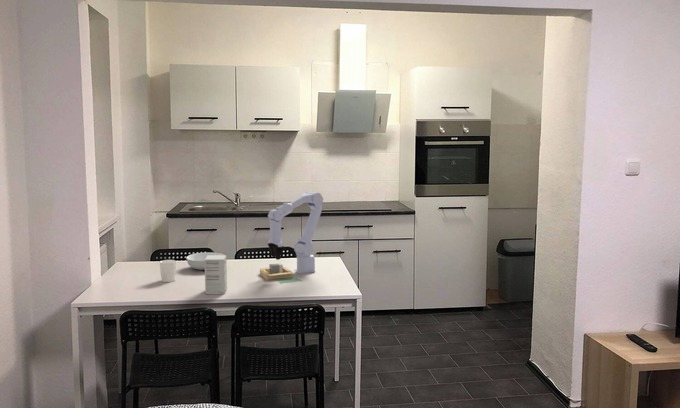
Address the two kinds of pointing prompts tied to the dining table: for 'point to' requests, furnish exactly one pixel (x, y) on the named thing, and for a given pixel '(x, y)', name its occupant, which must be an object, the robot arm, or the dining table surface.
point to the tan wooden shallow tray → (266, 274)
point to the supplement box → (215, 274)
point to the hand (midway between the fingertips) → (275, 257)
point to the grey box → (276, 268)
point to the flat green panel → (288, 280)
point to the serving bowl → (199, 260)
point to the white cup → (168, 270)
